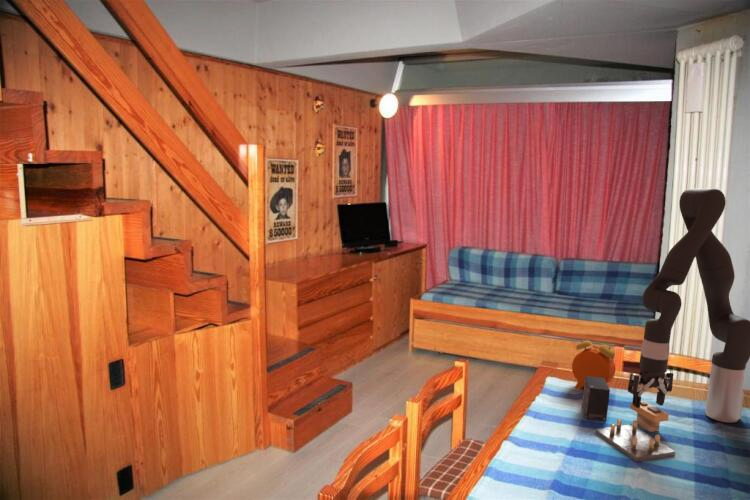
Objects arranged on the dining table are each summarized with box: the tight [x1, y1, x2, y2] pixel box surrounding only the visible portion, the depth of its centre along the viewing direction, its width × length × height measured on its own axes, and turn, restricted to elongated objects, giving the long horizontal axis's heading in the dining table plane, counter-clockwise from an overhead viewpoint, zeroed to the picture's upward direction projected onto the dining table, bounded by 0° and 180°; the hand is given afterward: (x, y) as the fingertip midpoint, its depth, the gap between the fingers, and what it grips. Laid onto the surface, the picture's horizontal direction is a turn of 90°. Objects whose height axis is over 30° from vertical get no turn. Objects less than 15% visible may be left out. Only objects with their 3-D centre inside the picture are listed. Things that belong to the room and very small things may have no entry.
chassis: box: [594, 419, 676, 462], centre depth 169 cm, size 13×17×4 cm
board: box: [629, 400, 669, 423], centre depth 180 cm, size 5×10×3 cm, turn 18°
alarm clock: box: [571, 332, 616, 390], centre depth 207 cm, size 13×6×20 cm, turn 49°
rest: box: [636, 412, 661, 433], centre depth 181 cm, size 3×6×4 cm, turn 18°
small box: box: [581, 376, 611, 422], centre depth 188 cm, size 11×6×10 cm, turn 168°
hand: (647, 405), depth 180 cm, fingers open, 8 cm apart
